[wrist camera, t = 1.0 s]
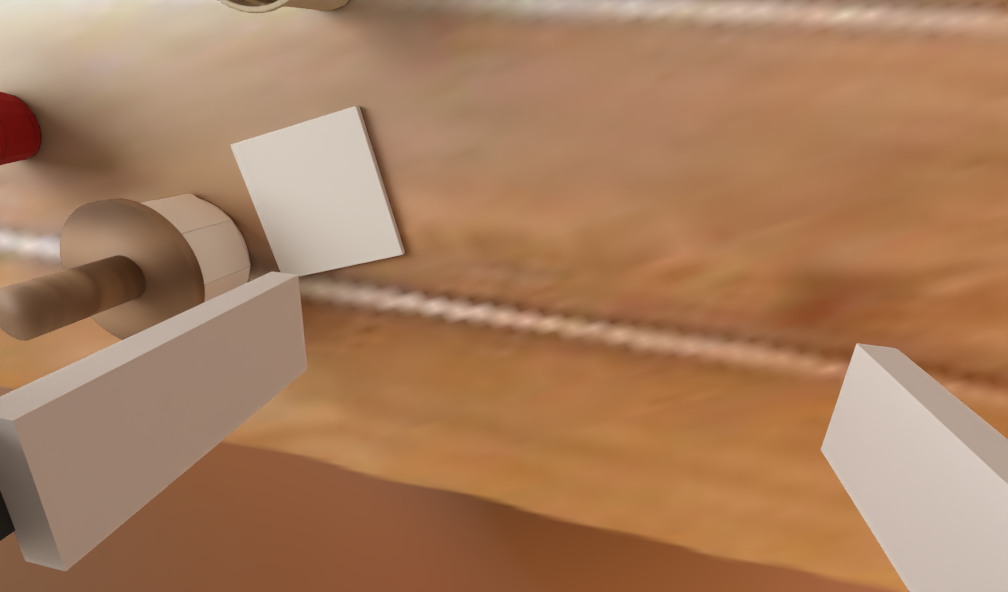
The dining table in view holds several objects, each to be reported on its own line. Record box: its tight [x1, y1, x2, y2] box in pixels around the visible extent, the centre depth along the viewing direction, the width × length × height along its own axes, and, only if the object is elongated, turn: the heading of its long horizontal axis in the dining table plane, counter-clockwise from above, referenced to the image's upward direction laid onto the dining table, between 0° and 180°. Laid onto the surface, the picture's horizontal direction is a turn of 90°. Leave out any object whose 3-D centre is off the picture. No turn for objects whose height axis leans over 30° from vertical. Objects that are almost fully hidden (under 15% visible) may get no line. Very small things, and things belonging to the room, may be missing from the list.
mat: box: [231, 106, 405, 277], centre depth 42 cm, size 12×12×1 cm
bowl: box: [141, 194, 251, 302], centre depth 43 cm, size 10×10×6 cm
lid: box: [0, 199, 205, 340], centre depth 36 cm, size 12×12×9 cm
